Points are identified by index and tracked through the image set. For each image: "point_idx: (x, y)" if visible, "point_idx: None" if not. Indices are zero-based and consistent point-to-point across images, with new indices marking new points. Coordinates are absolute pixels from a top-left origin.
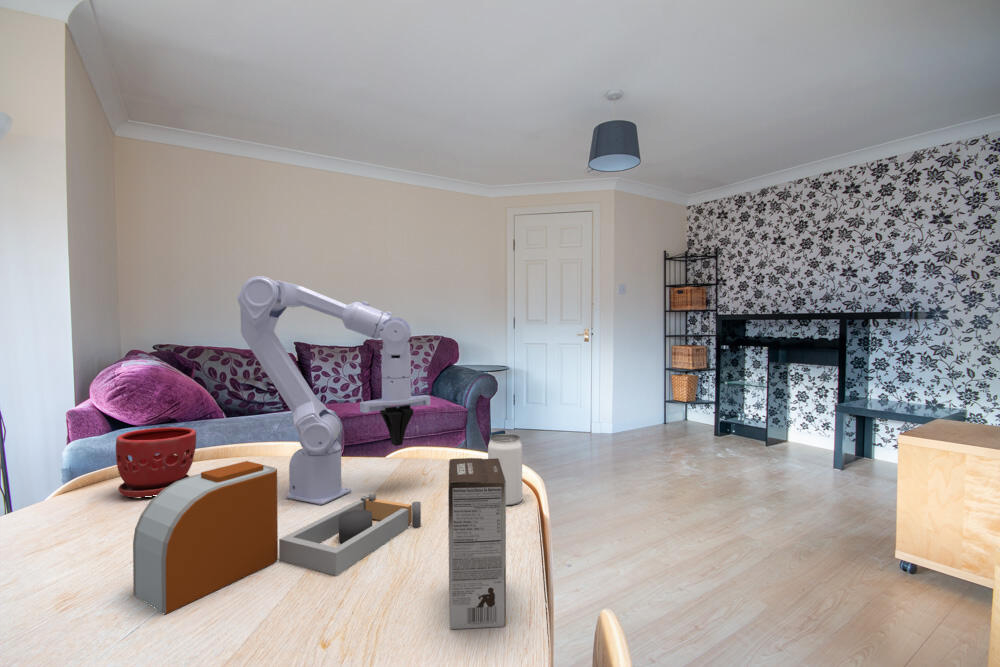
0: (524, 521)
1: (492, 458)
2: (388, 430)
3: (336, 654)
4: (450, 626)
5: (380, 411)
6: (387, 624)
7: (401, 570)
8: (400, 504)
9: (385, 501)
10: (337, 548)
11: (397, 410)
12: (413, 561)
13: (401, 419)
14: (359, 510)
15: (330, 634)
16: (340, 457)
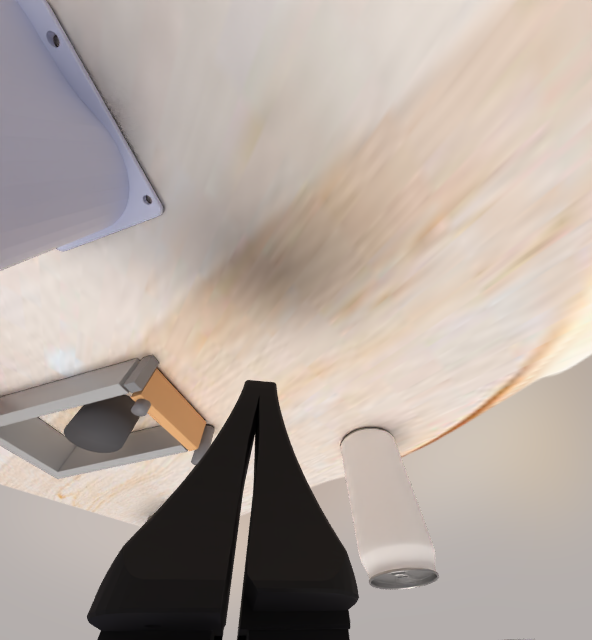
0: (319, 478)
1: (355, 528)
2: (221, 429)
3: (69, 503)
4: (147, 520)
5: (99, 593)
6: (110, 502)
7: (145, 473)
8: (182, 440)
9: (164, 420)
10: (59, 474)
11: (215, 638)
12: (163, 469)
13: (246, 555)
14: (105, 428)
15: (65, 493)
16: (27, 246)
